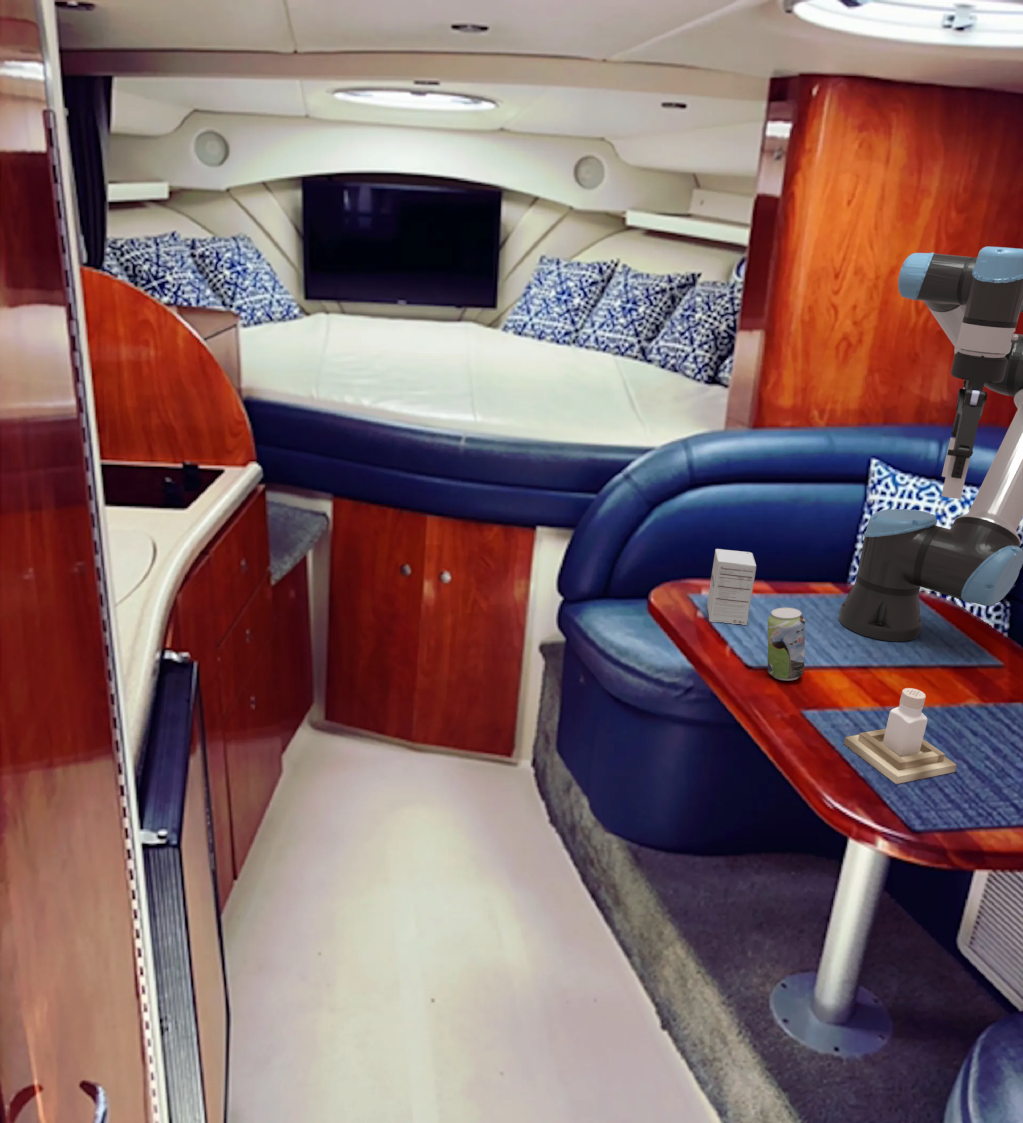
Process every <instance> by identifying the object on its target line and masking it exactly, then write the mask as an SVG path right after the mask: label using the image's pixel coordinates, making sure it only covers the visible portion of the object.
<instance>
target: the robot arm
mask: <svg viewBox="0 0 1023 1123" xmlns="http://www.w3.org/2000/svg"><path fill="white" fill-rule="evenodd" d="M897 285H898V286H897V289H898V292H899V295H900V297H902V298H905V299H908V300H913V301H923V303H924V304H925V305H926V307H927V308H928V310H929V311H930V313H931V314H932V316H933V317H934V318H935V320H936V321H937V323H938V324H939V326H940V327H941V329H942V330H943V332H944V333H945V334H946V336H947V338H948V339H949V341H950V342H951V344H952V345H953V346H954V349H953V350H954V351H953V352H954V357H953V362H952V366H951V371H950V375H951V376H952V377H953V378H956V379H960V380H963V387H962V388H959V389H958V391H957V392H958V393H957V402H956V408H955V410H956V414H955V418H954V422H953V424H952V425H951V433H950V435H951V437H950V438H949V442H948V448H947V451H946V455H945V460H944V465H943V469H942V474H941V477H943V478H945V479H944V483H943V487H942V492H941V497H944V498H950V499H958V500H961V498H962V494H963V489H964V486H965V482H966V477H967V473H968V471H969V470H968V469H969V466H970V462H971V457H972V456H973V454H974V447H975V446H974V445H975V440H976V436H977V432H978V427H979V421H980V420H981V419H982V415H983V412H984V406H985V404H986V402H987V400H988V393H987V391H985V390H984V387H985V388H987V389H989V390H990V391H992V392H995V393H997V394H1000V395H1003V396H1010V397H1013V403H1014V404H1015V407H1016V408H1017V410H1016V412H1015V415H1014V417H1013V419H1012V421H1011V423H1010V425H1009V427H1008V429H1007V431H1006V434H1005V435H1004V437H1003V439H1002V442H1001V444H1000V445H999V448H998V450H997V452H996V454H995V456H994V458H993V460H992V462H991V465H989V466H990V467H989V469H988V471H987V473H986V475H985V477H984V479H983V482H982V484H981V485H980V488H979V490H978V492H977V493H976V496H975V498H974V500H973V502H972V504H971V506H970V508H969V510H968V513H965V514H963V515H959V516H957V517H956V518H955V519H954V521H953V522H952V525H951V527H950V528H947V527H943V526H939V525H937V524H938V521H937V517H936V515H934V514H933V513H930V512H927V511H923V510H918V509H917V510H916V509H905V508H893V509H892V508H891V509H883V510H880V511H875V513H873V514H871V516H870V517H869V518H868V519H869V520H868V522H867V526H866V530H865V532H864V533H863V537H864V538H863V542H862V547H861V553H860V558H859V562H858V567H857V573H856V577H855V581H854V583H853V586H852V588H851V589H850V591H849V592H848V594H847V596H846V598H845V601H843V602H842V604H841V606H840V608H839V613H838V621H839V623H840V624H841V625H842V626H844V627H845V628H847V629H848V630H850V631H852V632H854V633H856V634H858V635H861V636H864V637H868V638H871V639H875V640H879V641H880V640H881V641H887V642H888V641H889V642H907V641H912V640H915V639H917V638H918V637H919V636H920V634H921V629H922V625H923V624H922V622H923V621H922V618H921V607H920V606H921V605H920V597H919V596H920V591H921V588H924V589H927V590H930V591H933V592H937V593H940V594H943V595H947V596H950V597H953V598H956V599H959V600H962V601H963V602H965V603H973V604H976V605H980V606H984V607H985V606H986V607H988V606H989V607H990V606H993V605H996V604H997V603H999V602H1000V601H1001V600H1003V599H1004V598H1005V597H1006V595H1007V594H1008V593H1009V592H1010V590H1011V589H1012V587H1013V586H1014V584H1015V583H1016V581H1017V578H1018V577H1019V574H1020V571H1021V569H1022V567H1023V549H1022V548H1020V546H1021V538H1020V536H1019V534H1018V533H1017V530H1018V528H1019V526H1020V523H1021V521H1022V520H1023V334H1022V333H1021V334H1020V333H1015V332H1016V328H1017V325H1018V321H1019V317H1020V313H1023V248H1015V247H1003V246H1002V247H1001V246H984V247H982V248H981V249H980V250H979V252H978V255H977V256H975V257H973V256H966V255H965V256H963V255H956V254H955V255H954V254H944V253H943V254H942V253H935V252H914V253H911V254H909V255H908V256H907V257H906V258H905V260H904V261H903V263H902V266H901V268H900V270H899V274H898V281H897Z"/></svg>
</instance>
